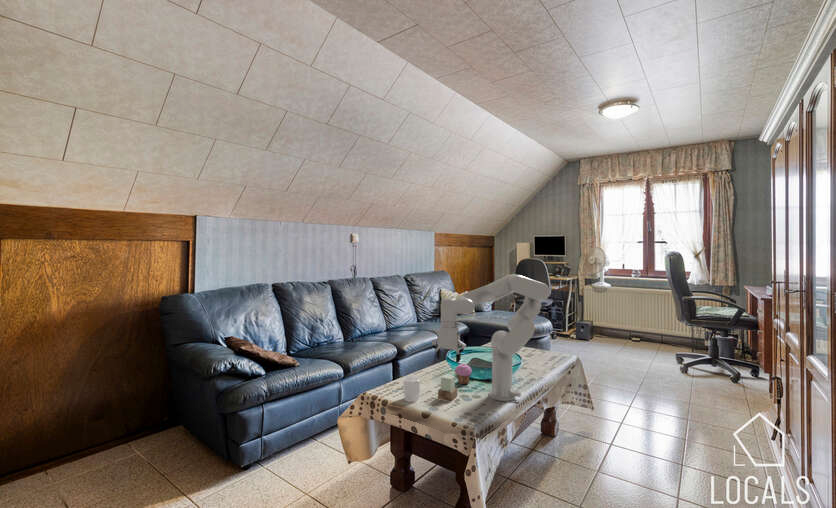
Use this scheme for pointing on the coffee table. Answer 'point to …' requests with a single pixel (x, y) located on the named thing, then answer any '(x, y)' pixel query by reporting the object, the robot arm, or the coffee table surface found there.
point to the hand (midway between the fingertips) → (448, 360)
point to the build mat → (449, 401)
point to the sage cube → (448, 383)
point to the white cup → (411, 388)
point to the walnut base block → (447, 394)
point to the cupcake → (463, 373)
